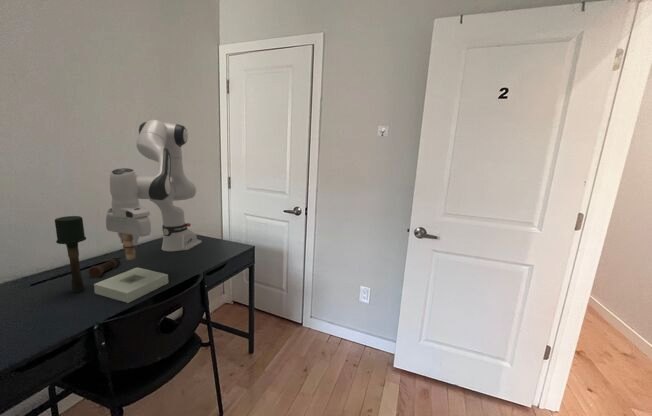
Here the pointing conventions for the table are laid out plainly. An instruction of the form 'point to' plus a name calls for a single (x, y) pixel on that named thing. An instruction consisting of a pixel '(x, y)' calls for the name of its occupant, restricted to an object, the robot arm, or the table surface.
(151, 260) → the table surface
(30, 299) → the table surface
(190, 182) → the robot arm
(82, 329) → the table surface
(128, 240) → the peg
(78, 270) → the grenade
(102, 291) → the board
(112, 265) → the bolt
